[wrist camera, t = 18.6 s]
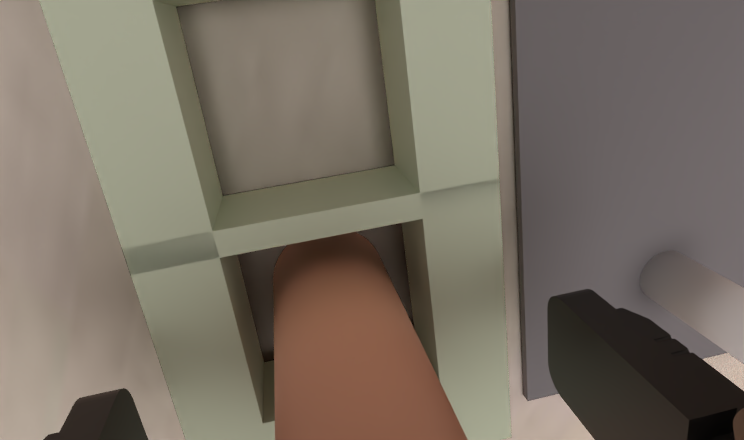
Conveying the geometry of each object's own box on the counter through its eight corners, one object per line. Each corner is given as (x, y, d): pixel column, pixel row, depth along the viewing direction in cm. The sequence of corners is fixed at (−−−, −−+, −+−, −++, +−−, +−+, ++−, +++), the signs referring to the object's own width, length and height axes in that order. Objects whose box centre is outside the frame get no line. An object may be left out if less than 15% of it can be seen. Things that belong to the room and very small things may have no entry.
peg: (262, 238, 14) (252, 485, 6) (375, 216, 14) (492, 425, 7) (285, 336, 15) (300, 646, 7) (389, 313, 15) (504, 586, 8)
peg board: (52, -106, 10) (-9, -144, 8) (439, -146, 11) (481, -191, 9) (218, 440, 15) (209, 512, 13) (477, 380, 16) (511, 437, 14)
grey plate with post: (509, -7, 13) (619, -23, 9) (833, -52, 14) (1062, -86, 10) (523, 394, 17) (601, 506, 13) (770, 335, 18) (910, 421, 14)
